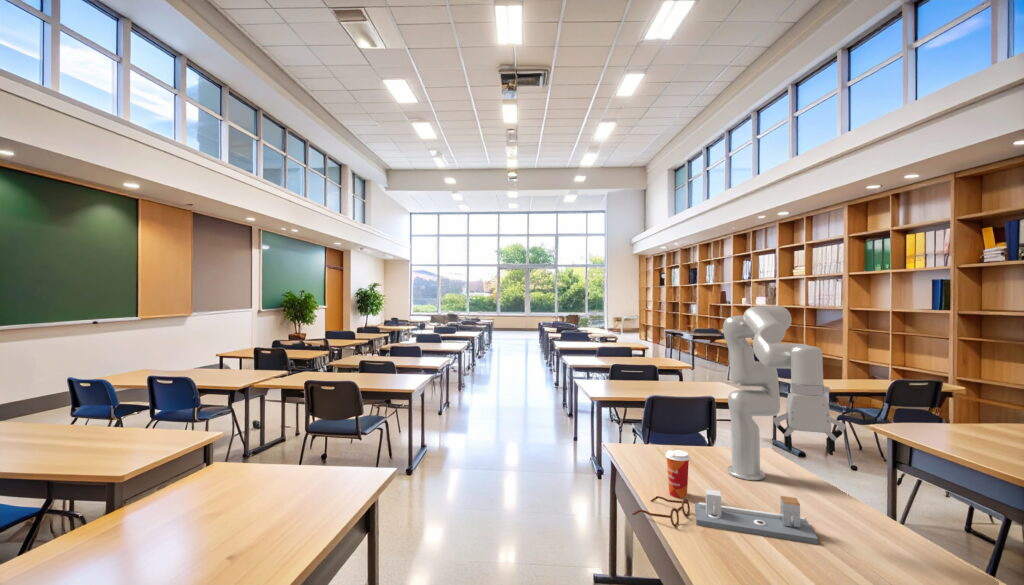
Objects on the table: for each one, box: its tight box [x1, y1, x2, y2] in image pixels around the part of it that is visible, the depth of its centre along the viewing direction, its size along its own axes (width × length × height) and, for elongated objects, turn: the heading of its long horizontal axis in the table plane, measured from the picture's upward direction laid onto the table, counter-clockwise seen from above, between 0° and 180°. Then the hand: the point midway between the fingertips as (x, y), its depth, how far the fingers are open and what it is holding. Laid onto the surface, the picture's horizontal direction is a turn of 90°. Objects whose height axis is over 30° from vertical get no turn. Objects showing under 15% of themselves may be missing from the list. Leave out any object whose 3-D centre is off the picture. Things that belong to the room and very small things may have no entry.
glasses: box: [631, 495, 691, 527], centre depth 136 cm, size 13×13×5 cm
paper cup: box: [665, 449, 691, 499], centre depth 149 cm, size 8×8×14 cm
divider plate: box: [694, 488, 819, 545], centre depth 129 cm, size 12×30×8 cm, turn 69°
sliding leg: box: [779, 495, 801, 528], centre depth 125 cm, size 5×4×7 cm
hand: (809, 451), depth 123 cm, fingers open, 9 cm apart
